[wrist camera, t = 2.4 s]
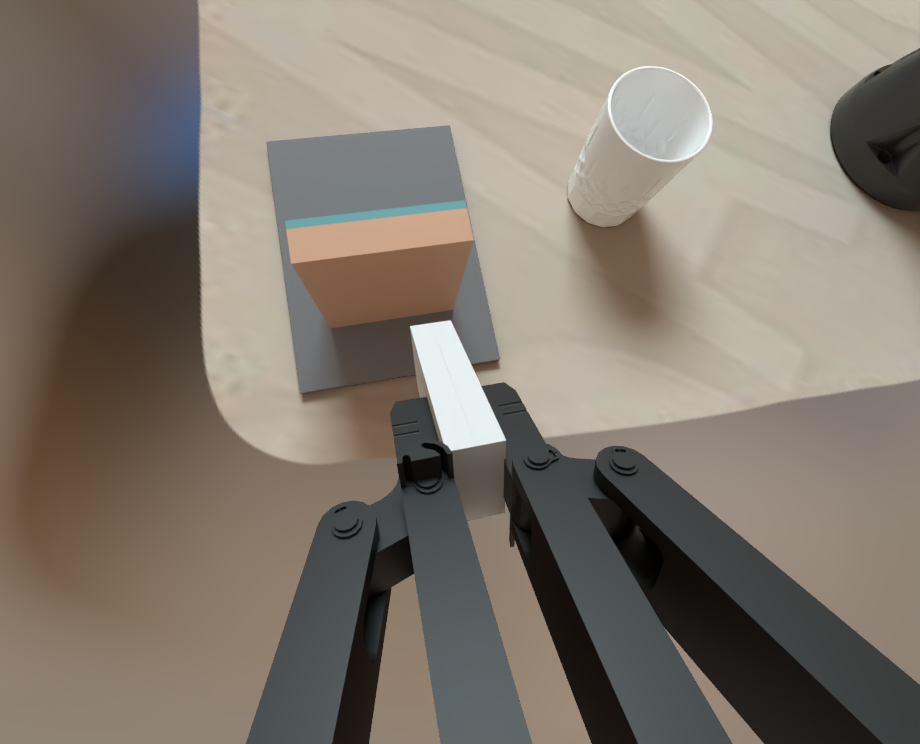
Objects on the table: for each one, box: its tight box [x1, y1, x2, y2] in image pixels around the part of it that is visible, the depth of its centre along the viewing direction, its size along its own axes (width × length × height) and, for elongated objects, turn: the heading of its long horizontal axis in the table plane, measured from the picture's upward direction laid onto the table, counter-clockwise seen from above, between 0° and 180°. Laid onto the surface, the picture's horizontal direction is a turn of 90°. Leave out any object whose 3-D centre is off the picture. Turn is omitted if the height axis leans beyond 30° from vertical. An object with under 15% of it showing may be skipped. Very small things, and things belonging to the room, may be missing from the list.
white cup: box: [568, 66, 713, 227], centre depth 36 cm, size 8×8×10 cm
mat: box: [267, 125, 500, 394], centre depth 37 cm, size 22×16×1 cm
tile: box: [285, 200, 474, 328], centre depth 30 cm, size 2×10×12 cm, turn 101°
